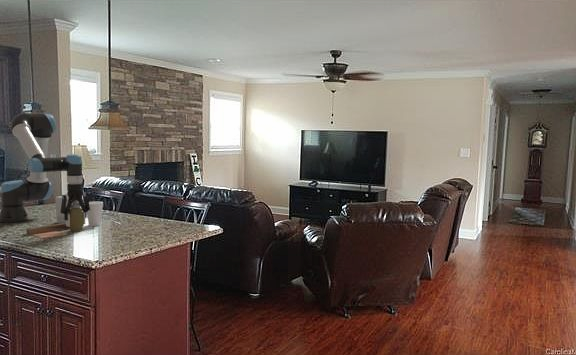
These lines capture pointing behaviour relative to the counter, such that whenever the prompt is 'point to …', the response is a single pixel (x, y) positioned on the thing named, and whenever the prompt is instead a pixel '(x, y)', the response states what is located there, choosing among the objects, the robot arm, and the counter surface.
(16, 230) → the counter surface
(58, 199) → the skincare box
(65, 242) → the counter surface
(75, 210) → the squeeze bottle
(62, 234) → the rail
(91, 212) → the foam cup
